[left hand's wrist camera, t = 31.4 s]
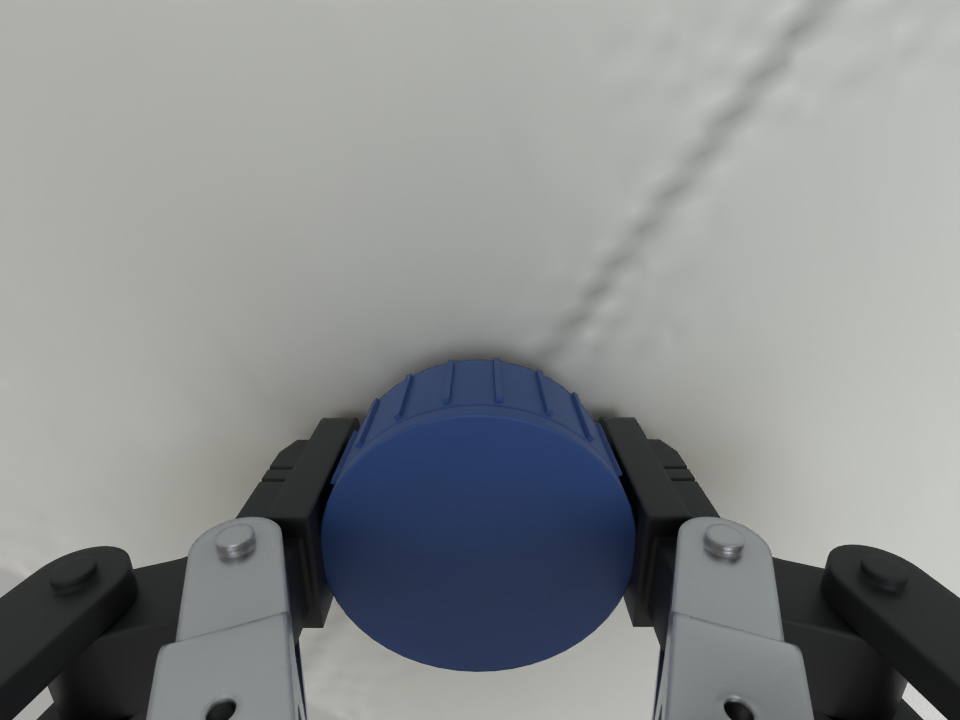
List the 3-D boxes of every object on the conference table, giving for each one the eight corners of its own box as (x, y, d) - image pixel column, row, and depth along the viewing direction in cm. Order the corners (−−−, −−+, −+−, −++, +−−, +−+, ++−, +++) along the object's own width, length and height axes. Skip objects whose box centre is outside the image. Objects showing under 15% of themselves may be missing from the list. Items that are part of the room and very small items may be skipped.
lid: (650, 397, 11) (693, 461, 8) (559, 602, 12) (576, 699, 10) (378, 323, 10) (350, 371, 8) (326, 550, 12) (291, 640, 10)
